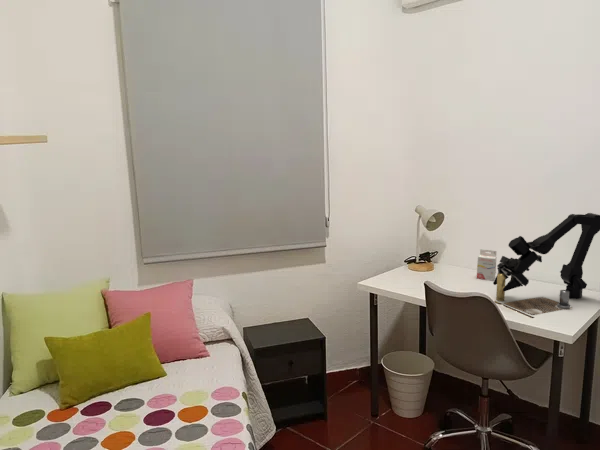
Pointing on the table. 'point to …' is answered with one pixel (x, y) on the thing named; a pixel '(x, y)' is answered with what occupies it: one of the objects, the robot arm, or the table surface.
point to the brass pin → (500, 287)
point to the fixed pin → (564, 300)
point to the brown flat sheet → (531, 310)
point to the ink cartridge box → (486, 265)
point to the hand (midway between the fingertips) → (498, 287)
